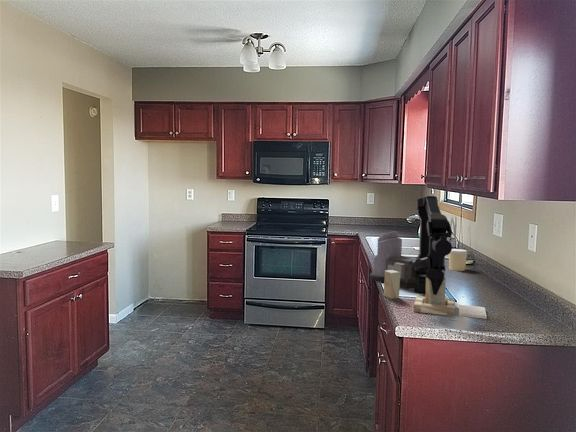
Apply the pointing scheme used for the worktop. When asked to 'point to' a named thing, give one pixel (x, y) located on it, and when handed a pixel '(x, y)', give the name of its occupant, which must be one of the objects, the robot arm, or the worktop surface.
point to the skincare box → (435, 299)
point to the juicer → (392, 260)
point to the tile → (472, 311)
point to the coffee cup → (457, 259)
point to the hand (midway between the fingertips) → (435, 292)
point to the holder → (434, 307)
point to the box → (391, 284)
